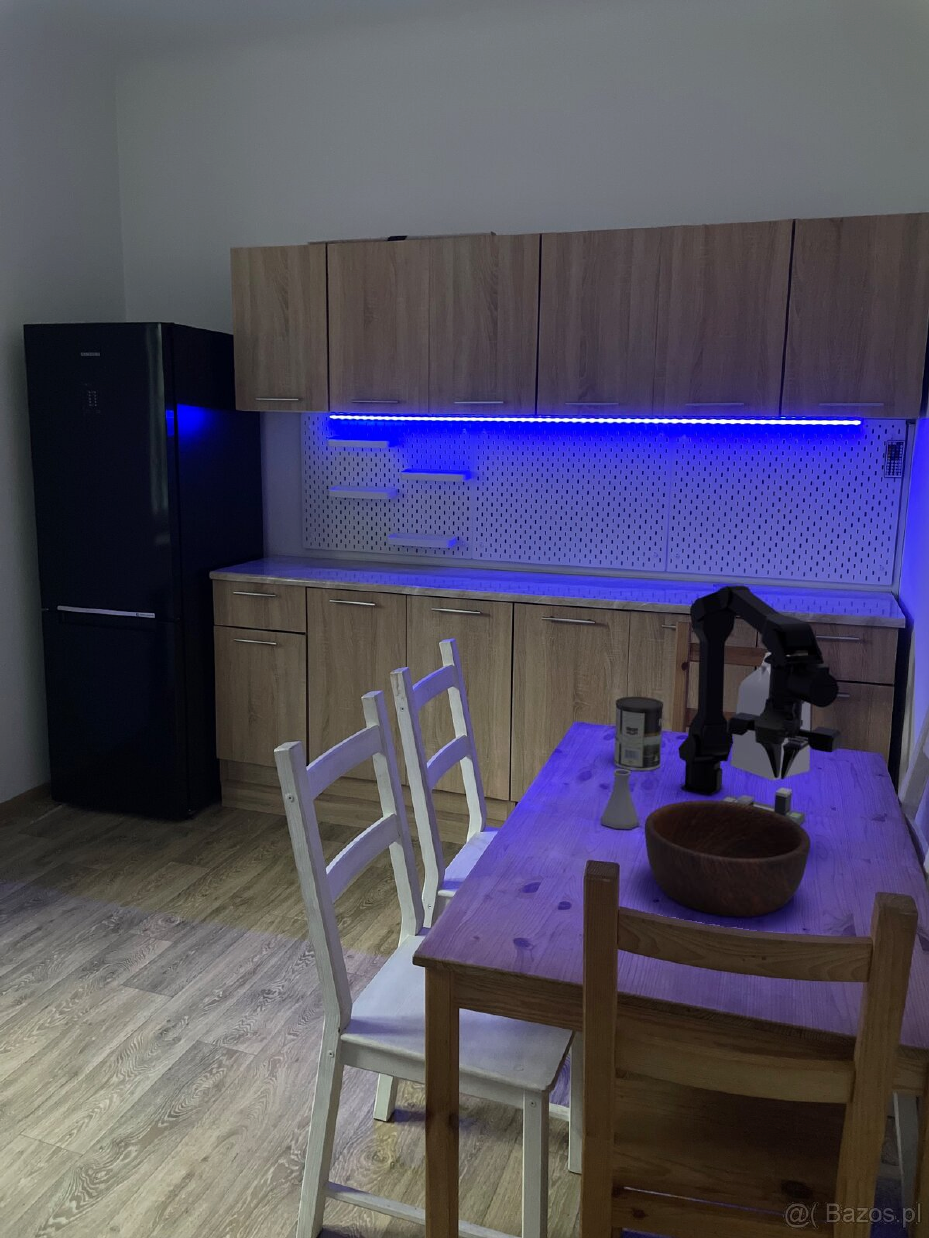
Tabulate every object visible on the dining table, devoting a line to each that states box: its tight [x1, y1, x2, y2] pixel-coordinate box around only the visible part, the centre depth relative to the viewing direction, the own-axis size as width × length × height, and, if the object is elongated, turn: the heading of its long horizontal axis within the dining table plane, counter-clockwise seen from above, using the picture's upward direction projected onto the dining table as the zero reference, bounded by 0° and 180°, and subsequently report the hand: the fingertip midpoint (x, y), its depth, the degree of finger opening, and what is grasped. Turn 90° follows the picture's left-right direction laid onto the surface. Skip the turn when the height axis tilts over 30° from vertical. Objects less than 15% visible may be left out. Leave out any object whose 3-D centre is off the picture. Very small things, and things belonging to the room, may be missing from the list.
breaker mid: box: [737, 794, 755, 806], centre depth 177 cm, size 2×3×4 cm, turn 142°
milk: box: [730, 651, 811, 781], centre depth 209 cm, size 12×12×26 cm
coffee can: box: [613, 696, 664, 772], centre depth 212 cm, size 10×10×14 cm
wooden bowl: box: [644, 799, 811, 918], centre depth 152 cm, size 25×25×10 cm
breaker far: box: [774, 787, 793, 815], centre depth 181 cm, size 2×3×4 cm, turn 142°
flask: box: [600, 768, 640, 830], centre depth 179 cm, size 7×7×10 cm
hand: (779, 778), depth 172 cm, fingers closed
